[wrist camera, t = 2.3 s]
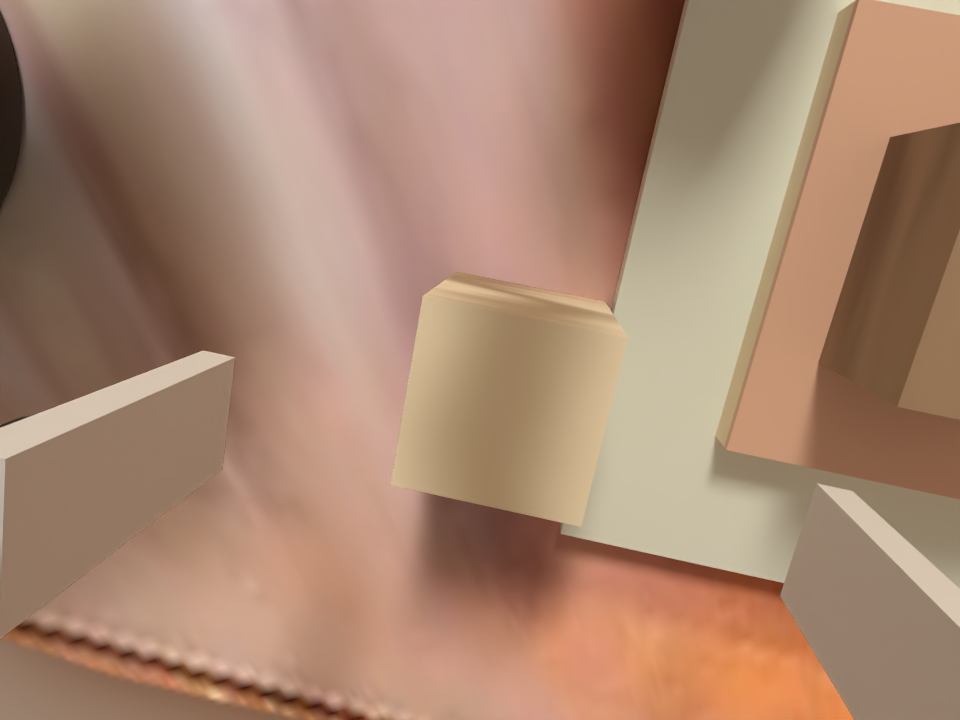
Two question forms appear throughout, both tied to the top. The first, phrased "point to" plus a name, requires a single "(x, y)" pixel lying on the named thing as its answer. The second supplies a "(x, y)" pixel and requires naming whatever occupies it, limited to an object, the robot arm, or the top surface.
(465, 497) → the maple block
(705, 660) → the top surface
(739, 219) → the board
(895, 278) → the walnut block
